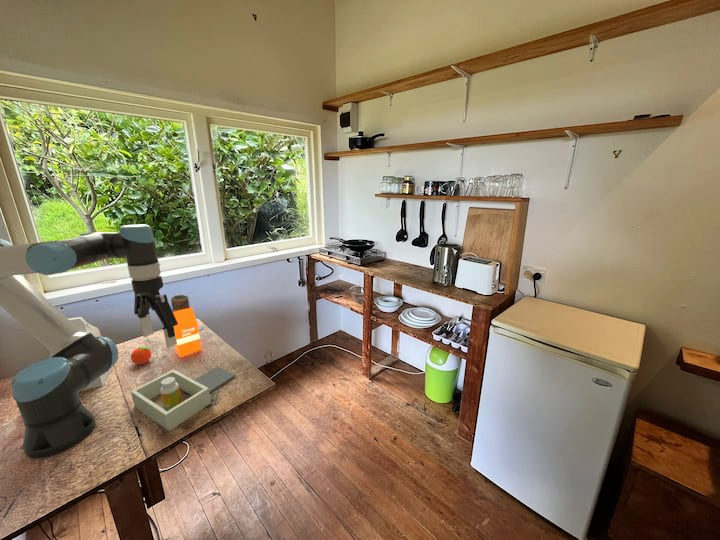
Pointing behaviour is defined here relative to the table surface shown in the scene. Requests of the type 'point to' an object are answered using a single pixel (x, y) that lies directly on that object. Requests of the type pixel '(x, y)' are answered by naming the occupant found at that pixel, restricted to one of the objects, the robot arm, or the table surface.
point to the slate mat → (215, 378)
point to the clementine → (141, 355)
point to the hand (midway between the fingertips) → (159, 340)
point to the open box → (178, 412)
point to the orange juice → (186, 332)
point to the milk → (86, 327)
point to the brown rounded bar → (179, 302)
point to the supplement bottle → (170, 393)
